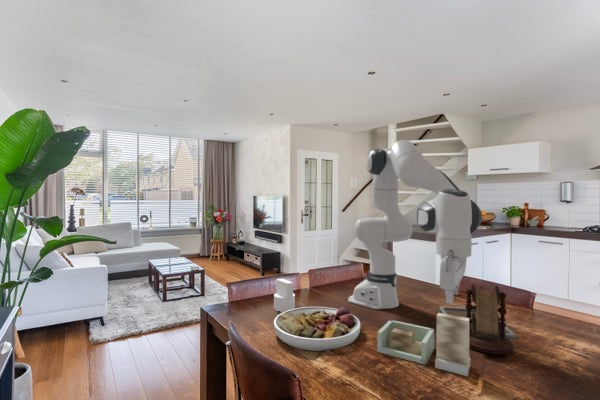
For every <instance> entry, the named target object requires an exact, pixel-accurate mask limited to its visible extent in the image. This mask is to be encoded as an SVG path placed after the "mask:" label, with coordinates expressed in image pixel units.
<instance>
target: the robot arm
mask: <svg viewBox="0 0 600 400" xmlns="http://www.w3.org/2000/svg"><path fill="white" fill-rule="evenodd" d="M365 160H366V162H365V164H366V169H367V172H369V174H370V175H373V178H372V183H371V184H372V185H371V187H372V188H371V205H372V207H374V208H375V209H376V210H378V211H379V212H382V213H384V216H383V217H380V216H379V217H378V216H377V217H376V216H375V217H370V216H369V217H363V218H360V219H359V218H358V219H357V220H356V221H355V224H354V225H353V233H354V235H355V238H357V240H359V241H360V242H361V243H362V244H363V245H364V247H365V248H366V251H367V252H368V256H369V270H368V271H367V272H366V273H365V274H364V275H365V278H366V279H364V280H363V281H361V282H360V283H359V284H357V285H356V286H355V287H354V290H353V294H352V295H350V296H349V297H348V299H347V301H348V303H352V304H355V305H358V306H362V307H365V308H369V309H373V310H382V309H394V308H397V307H399V306H400V304H399V299H398V294H397V288H396V287H397V278H398V277H397V272H396V256H395V254H394V253H393V252H392V251H391V250H389V249H387V248H385V247H383V243H384V242H386V243H388V242H389V243H399V242H404V241H408V240H409V239H410V238H411V237H412V235H413V226H412V224H411V222H410V220H408V219H407V218H406V217H405V216H404V215H403V214H402V212H401V211H400V208H399V201H398V200H399V197H398V196H399V181H400V182H401V183H402V184H403V185H405V186H408V187H412V188H416V189H417V188H418V189H423V190H426V191H431V192H433V193H435V194H437V196H435V197H434V198H433V199H430V200H428V201H425V202H422V203H421V205H419V206H418V209H417V211H416V222H417V224H418V226H419V227H420V228H421V229H422V230H423V231H424V232H427V233H432V234H433V233H436V237H435V238H436V239H435V241H436V242H435V253H436V254H437V255H438V256H440V266H439V267H440V268H439V287H440V289H442V290H444V295H445V303H446V304H451V305H453V304H454V302H455V296H454V295H459V293H460V285H461V280H462V279H463V277H464V276H465V272H466V269H467V268H466V266H467V259H468V258H470V257H471V256H472V234H473V233H474V232H475V231H476V230H477V229H478V228H479V227H480V226H481V223H482V221H483V214H482V210H481V208H480V207H479V206H478V204H477V203H476V202H475V201H474V200H471V196H470V195H469V193H468V192H466V191H465V190H461V189H460V188H459V187H458V186H457V185H456V184H455V183H454V182H453V180H452V179H451V178H450V177H449V176H447V174H446V173H444V172H443V171H442V170H440V169H438V168H437V167H435V166H434V165H432V163H430V162H429V161H428V160H427V159H426V157H425V156H424V155H423V153H422V152H421V150H420V149H419V148H418V147H417V146H416V145H415V144H414V143H413V142H412V141H410V140H408V139H403V140H399V141H396V142H395V143H394V144H393V145H392V146H391V148H387V147H386V148H376V149H372V150H371V151H369V152H368V154H367V156H366V159H365Z"/></svg>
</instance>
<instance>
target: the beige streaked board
mask: <svg viewBox="0 0 600 400" xmlns="http://www.w3.org/2000/svg"><path fill="white" fill-rule="evenodd" d="M435 336H436V351H435V352H436V356H435V358H436V357H437V358H440V359H444V360H448V361H452V362H456V363H460V364H464V365H468V374H469V371H470V369H469V358H470V349H469V318H465V317H459V316H453V315H448V314H443V313H442V312H441V313H440V312H438V313H437V315H436V335H435Z"/></svg>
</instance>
